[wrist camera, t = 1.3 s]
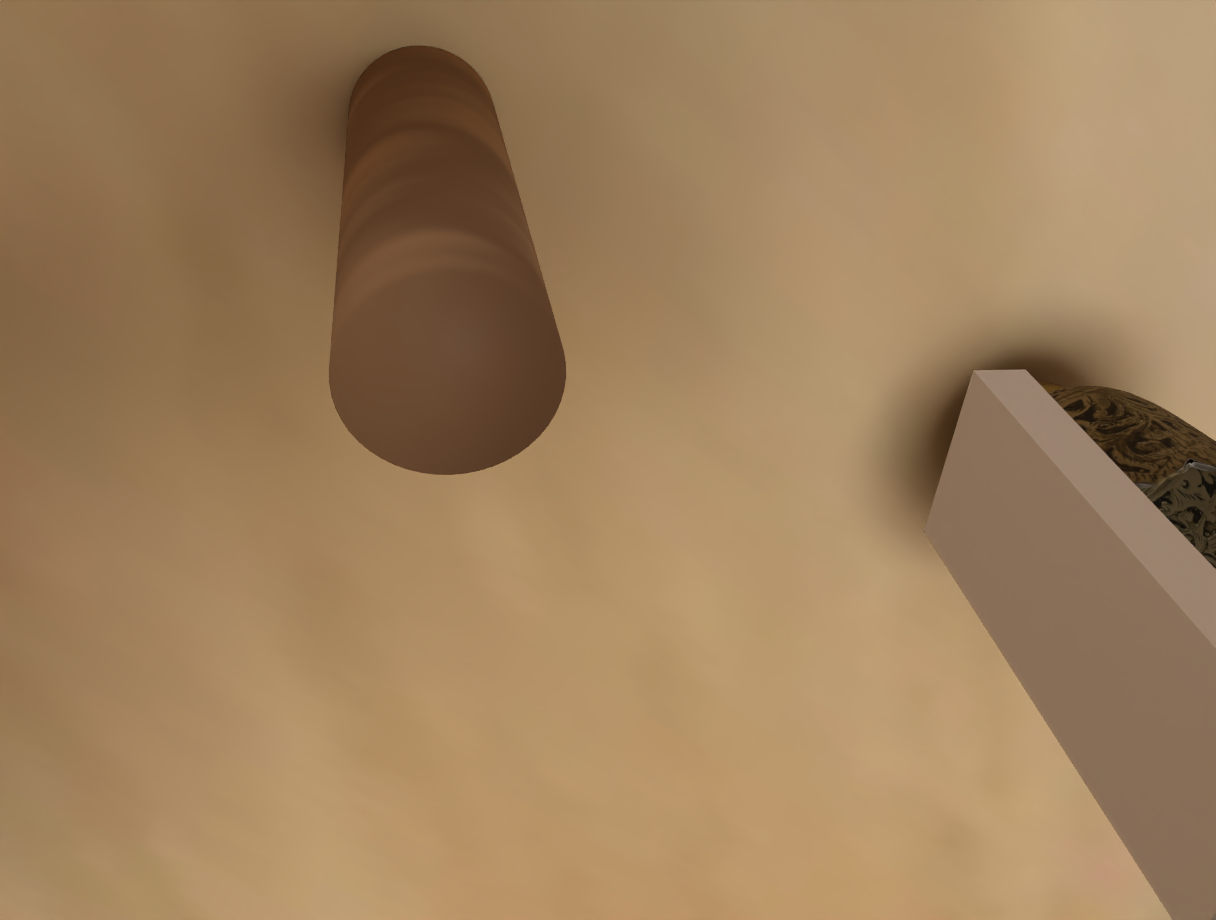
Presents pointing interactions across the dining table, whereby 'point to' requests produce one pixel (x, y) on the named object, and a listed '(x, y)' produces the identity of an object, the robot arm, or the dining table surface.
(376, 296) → the walnut peg
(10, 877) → the dining table surface
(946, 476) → the robot arm
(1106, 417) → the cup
